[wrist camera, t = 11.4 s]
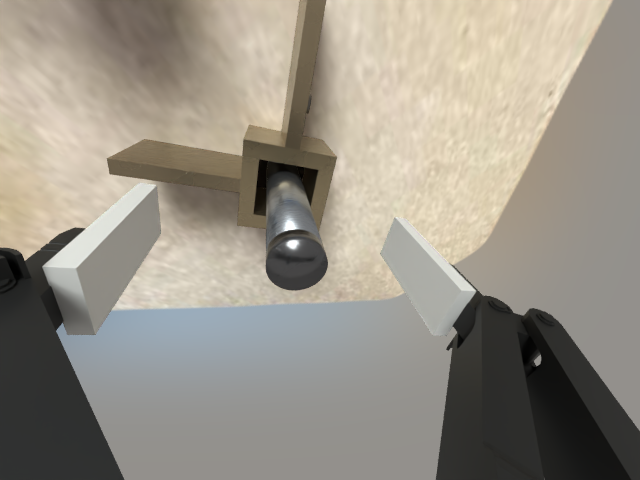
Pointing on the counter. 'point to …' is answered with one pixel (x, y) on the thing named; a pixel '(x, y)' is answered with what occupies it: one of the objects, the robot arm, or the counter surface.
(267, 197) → the pin
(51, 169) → the counter surface
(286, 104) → the hinge
